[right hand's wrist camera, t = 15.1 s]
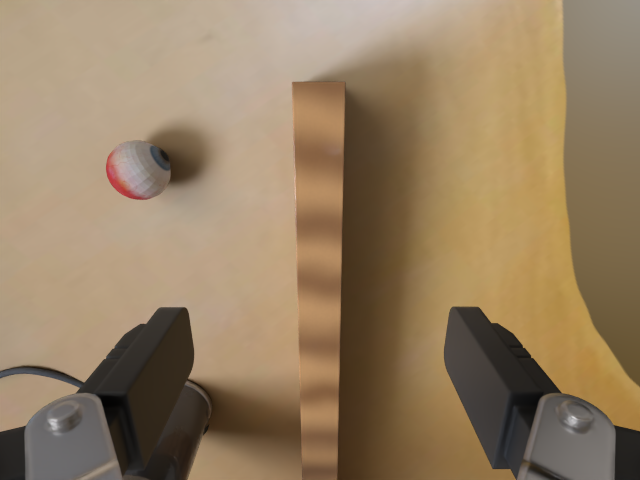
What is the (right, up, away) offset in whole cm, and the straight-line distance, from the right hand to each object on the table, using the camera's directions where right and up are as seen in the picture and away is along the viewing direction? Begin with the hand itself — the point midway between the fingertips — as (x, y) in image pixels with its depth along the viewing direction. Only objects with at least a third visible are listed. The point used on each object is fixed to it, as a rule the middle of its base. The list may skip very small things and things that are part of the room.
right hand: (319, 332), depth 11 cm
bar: (0, -18, +41) cm, 45 cm away
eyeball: (-18, +11, +30) cm, 37 cm away
